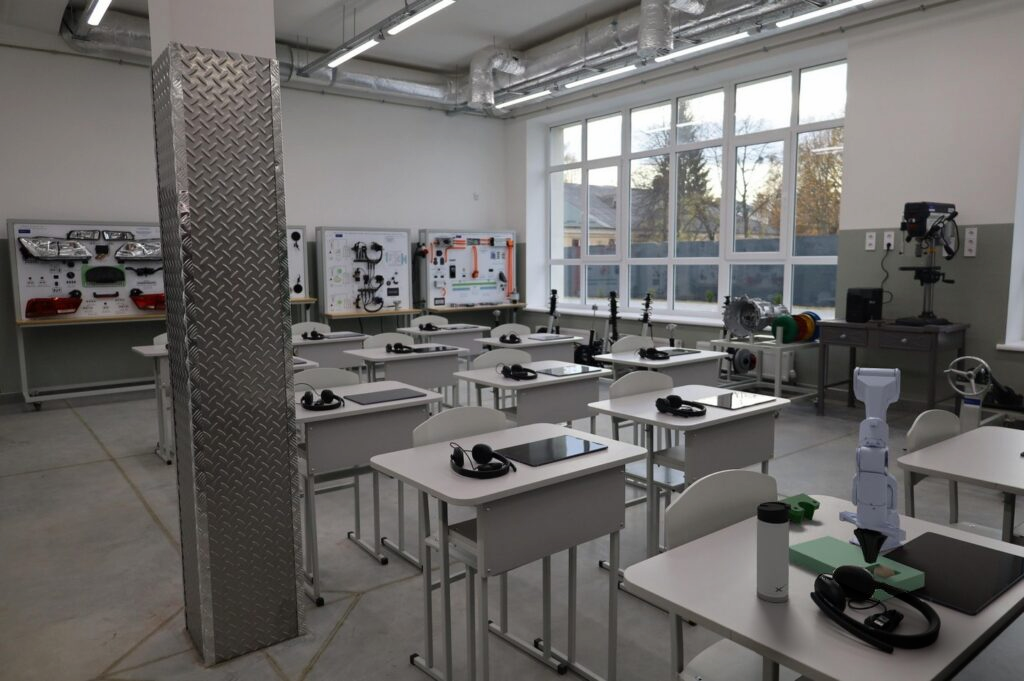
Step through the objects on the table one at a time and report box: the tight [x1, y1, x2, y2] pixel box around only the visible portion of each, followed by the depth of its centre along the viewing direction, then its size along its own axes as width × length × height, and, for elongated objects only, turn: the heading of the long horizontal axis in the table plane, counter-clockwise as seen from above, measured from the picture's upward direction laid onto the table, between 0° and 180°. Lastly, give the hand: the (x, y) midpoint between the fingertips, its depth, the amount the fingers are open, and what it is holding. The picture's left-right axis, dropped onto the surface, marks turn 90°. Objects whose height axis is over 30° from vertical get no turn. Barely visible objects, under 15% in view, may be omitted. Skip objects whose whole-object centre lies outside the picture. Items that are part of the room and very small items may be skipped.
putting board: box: [789, 535, 926, 602], centre depth 152 cm, size 24×14×3 cm, turn 25°
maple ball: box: [874, 565, 895, 579], centre depth 145 cm, size 4×4×4 cm
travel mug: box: [756, 501, 791, 603], centre depth 141 cm, size 6×7×20 cm
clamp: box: [777, 492, 821, 525], centre depth 185 cm, size 12×6×9 cm, turn 117°
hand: (870, 562), depth 147 cm, fingers closed
